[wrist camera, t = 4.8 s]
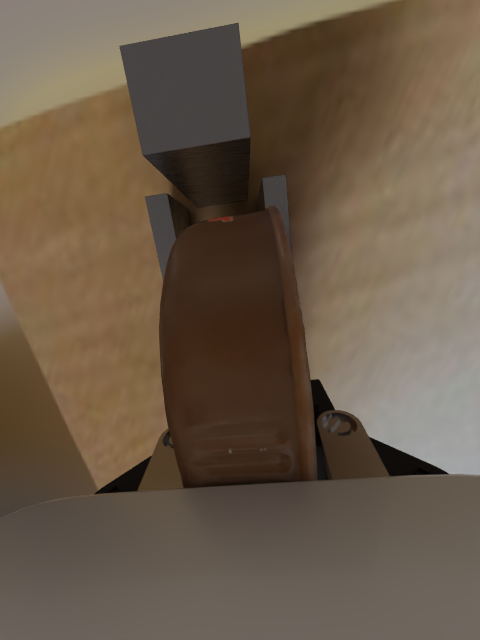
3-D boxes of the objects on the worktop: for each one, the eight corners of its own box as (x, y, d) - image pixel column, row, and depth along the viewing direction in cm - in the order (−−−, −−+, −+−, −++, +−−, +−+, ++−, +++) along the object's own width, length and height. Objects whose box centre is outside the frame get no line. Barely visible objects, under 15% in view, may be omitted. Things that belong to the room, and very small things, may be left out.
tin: (292, 482, 15) (356, 760, 7) (241, 487, 15) (244, 767, 7) (268, 223, 11) (355, 134, 3) (199, 232, 11) (79, 175, 3)
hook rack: (270, 149, 13) (304, 10, 6) (299, 475, 20) (334, 619, 12) (162, 166, 14) (58, 58, 6) (224, 482, 20) (211, 626, 12)
